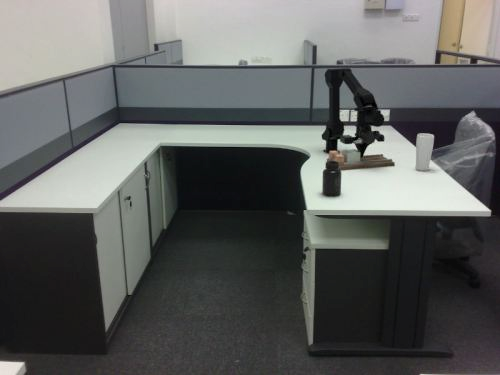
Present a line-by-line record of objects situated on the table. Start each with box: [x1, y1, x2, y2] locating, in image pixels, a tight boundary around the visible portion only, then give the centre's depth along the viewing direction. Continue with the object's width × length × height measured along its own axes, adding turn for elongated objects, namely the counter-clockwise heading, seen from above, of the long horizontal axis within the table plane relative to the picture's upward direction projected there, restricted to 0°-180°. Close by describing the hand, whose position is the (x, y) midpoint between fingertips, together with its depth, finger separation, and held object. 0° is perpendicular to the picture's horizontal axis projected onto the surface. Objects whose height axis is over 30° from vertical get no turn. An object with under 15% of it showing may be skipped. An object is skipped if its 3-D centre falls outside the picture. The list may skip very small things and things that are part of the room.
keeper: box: [341, 148, 360, 162], centre depth 207 cm, size 6×6×4 cm
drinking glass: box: [415, 133, 435, 172], centre depth 196 cm, size 7×7×15 cm
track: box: [326, 151, 395, 171], centre depth 208 cm, size 14×26×6 cm, turn 102°
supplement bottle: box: [321, 160, 342, 197], centre depth 171 cm, size 7×7×12 cm
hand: (361, 157), depth 208 cm, fingers closed
